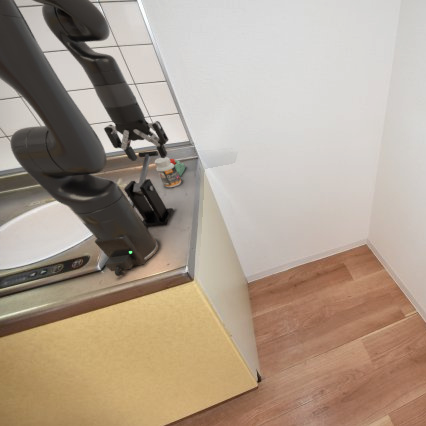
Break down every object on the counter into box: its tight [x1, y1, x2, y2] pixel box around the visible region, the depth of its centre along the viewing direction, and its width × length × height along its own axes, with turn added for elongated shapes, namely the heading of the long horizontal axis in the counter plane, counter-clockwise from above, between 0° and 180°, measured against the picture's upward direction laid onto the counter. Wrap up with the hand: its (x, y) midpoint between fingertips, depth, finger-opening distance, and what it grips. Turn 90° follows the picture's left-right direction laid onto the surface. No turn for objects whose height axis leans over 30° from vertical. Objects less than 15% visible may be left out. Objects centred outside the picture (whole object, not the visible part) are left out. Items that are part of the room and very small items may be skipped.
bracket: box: [123, 178, 175, 228], centre depth 69 cm, size 7×7×13 cm
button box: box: [174, 159, 186, 177], centre depth 95 cm, size 7×6×4 cm
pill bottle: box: [154, 156, 182, 188], centre depth 86 cm, size 6×6×10 cm
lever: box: [133, 150, 159, 196], centre depth 69 cm, size 15×5×2 cm, turn 9°
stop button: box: [169, 158, 176, 165], centre depth 93 cm, size 3×3×2 cm
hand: (149, 158), depth 73 cm, fingers open, 8 cm apart
